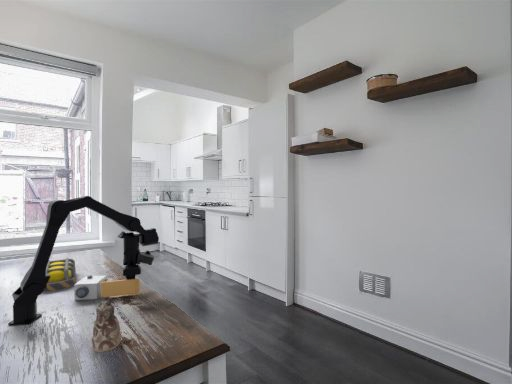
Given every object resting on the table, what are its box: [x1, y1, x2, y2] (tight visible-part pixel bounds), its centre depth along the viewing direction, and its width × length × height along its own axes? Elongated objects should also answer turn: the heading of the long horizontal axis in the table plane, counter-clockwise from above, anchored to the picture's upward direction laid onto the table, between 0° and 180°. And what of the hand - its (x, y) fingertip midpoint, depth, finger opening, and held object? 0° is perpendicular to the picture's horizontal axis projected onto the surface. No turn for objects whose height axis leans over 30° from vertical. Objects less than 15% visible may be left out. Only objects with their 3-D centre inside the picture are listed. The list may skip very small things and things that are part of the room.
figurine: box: [91, 297, 122, 353], centre depth 81 cm, size 7×7×12 cm
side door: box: [96, 278, 141, 300], centre depth 116 cm, size 15×1×6 cm, turn 106°
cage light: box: [42, 257, 77, 293], centre depth 136 cm, size 15×8×30 cm
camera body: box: [73, 274, 108, 301], centre depth 118 cm, size 12×8×7 cm, turn 6°
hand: (131, 286), depth 120 cm, fingers closed
